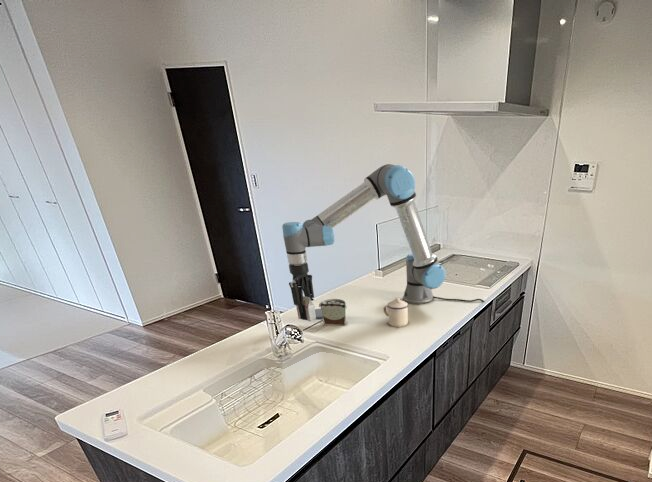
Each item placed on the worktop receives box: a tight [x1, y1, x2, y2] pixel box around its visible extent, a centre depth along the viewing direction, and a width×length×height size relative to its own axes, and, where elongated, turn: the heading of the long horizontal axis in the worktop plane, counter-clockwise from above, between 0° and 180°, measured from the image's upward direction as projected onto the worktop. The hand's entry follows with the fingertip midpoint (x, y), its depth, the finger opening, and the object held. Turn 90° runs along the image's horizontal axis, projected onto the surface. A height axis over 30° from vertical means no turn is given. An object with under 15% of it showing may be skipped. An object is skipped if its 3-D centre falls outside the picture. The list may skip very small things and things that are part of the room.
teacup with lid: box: [383, 297, 409, 328], centre depth 191 cm, size 12×9×12 cm
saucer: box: [315, 308, 323, 320], centre depth 201 cm, size 11×11×1 cm
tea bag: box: [295, 295, 317, 322], centre depth 185 cm, size 4×7×10 cm, turn 63°
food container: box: [318, 298, 348, 326], centre depth 191 cm, size 12×6×10 cm, turn 84°
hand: (307, 317), depth 188 cm, fingers closed on tea bag, 4 cm apart
